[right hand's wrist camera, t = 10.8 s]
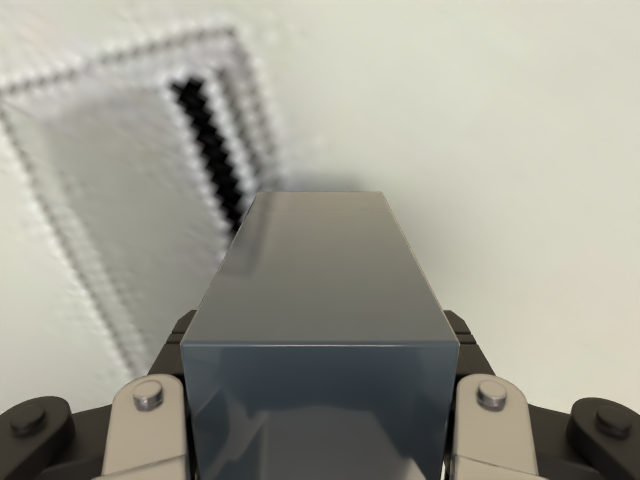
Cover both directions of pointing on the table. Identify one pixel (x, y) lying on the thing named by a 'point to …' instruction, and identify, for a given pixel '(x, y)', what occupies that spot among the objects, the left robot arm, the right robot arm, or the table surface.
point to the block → (319, 348)
